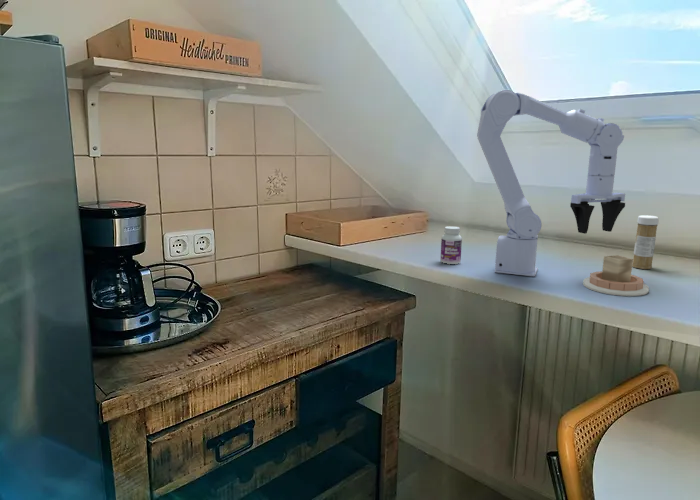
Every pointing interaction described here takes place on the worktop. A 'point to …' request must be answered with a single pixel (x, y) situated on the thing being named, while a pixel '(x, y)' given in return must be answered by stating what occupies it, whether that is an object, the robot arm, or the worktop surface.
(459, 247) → the pill bottle
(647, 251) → the sprinkles bottle
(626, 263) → the beige wooden block
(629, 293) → the collar dish
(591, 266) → the worktop surface
